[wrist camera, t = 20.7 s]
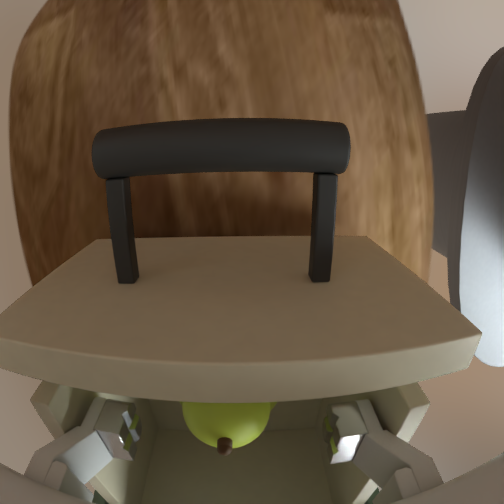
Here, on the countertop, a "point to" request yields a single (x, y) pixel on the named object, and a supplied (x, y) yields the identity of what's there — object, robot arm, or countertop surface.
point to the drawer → (232, 326)
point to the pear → (226, 422)
